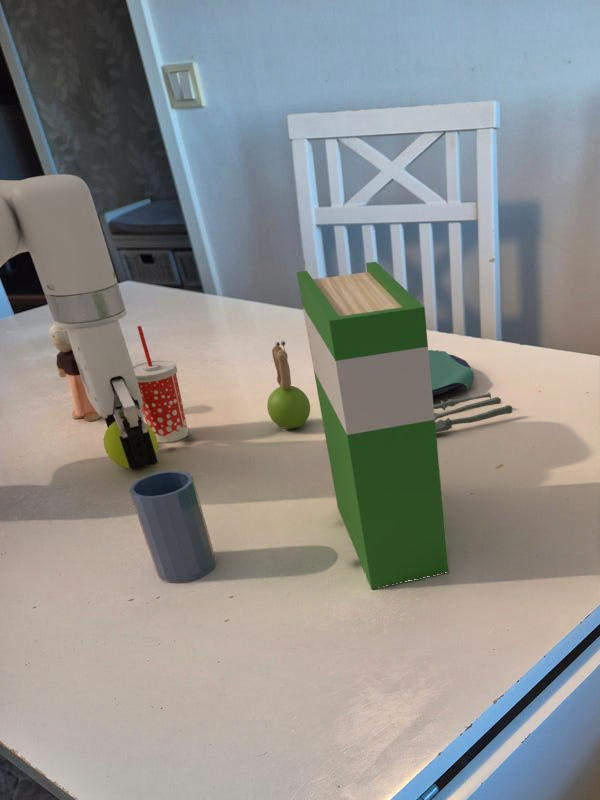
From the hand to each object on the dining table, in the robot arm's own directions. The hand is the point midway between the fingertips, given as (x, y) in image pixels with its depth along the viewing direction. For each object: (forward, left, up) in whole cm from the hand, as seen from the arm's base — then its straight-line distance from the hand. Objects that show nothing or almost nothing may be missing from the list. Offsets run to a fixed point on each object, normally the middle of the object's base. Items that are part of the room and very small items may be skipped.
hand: (135, 452), depth 102 cm
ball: (0, 0, +1) cm, 1 cm away
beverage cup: (+3, +9, -2) cm, 10 cm away
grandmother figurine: (-9, +20, -2) cm, 22 cm away
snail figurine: (+19, +6, -2) cm, 20 cm away
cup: (+8, -27, -2) cm, 28 cm away
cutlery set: (+36, +12, -2) cm, 38 cm away
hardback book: (+28, -27, -2) cm, 39 cm away
